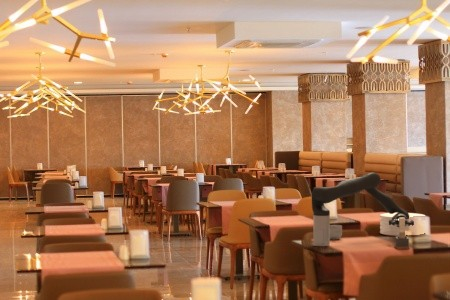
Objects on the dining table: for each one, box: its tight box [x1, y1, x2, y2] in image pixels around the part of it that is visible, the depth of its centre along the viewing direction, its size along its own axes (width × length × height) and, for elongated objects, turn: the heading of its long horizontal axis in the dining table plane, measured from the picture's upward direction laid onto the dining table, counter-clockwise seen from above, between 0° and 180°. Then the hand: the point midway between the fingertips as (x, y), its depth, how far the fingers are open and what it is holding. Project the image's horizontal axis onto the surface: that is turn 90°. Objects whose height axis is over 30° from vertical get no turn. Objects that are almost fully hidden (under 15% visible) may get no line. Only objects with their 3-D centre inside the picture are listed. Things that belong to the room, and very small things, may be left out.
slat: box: [399, 217, 406, 238], centre depth 508 cm, size 5×3×15 cm, turn 170°
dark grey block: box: [394, 236, 411, 250], centre depth 508 cm, size 10×8×6 cm
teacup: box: [330, 224, 343, 240], centre depth 545 cm, size 14×11×8 cm
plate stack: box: [379, 212, 427, 237], centre depth 571 cm, size 28×28×12 cm
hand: (401, 224), depth 519 cm, fingers open, 8 cm apart
